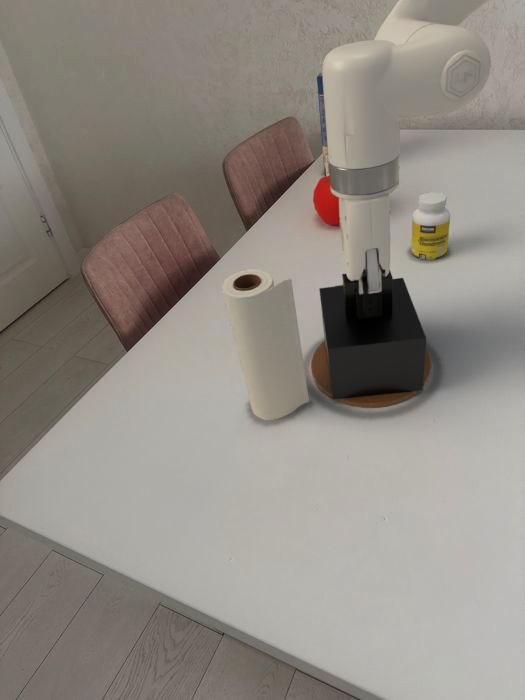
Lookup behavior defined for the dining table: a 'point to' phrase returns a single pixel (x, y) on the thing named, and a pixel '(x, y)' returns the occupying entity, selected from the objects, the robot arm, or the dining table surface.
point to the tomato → (326, 202)
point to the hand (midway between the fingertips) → (367, 308)
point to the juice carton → (323, 123)
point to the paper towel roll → (266, 342)
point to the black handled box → (370, 347)
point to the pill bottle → (430, 227)
